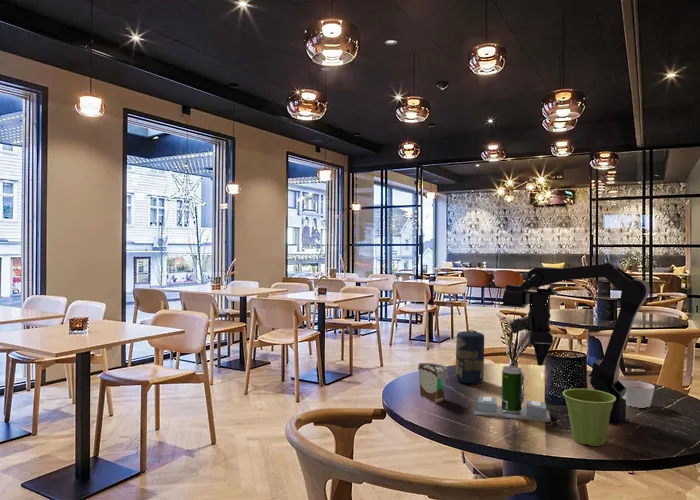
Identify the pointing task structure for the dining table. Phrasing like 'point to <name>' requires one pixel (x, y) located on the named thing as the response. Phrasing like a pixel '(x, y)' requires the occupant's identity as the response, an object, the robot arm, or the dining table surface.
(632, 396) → the white tapered cup
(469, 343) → the canister
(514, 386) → the beer can
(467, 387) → the dining table surface
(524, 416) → the rail
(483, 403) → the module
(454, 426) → the dining table surface
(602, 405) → the plant pot
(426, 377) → the food container
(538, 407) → the module
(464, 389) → the dining table surface
